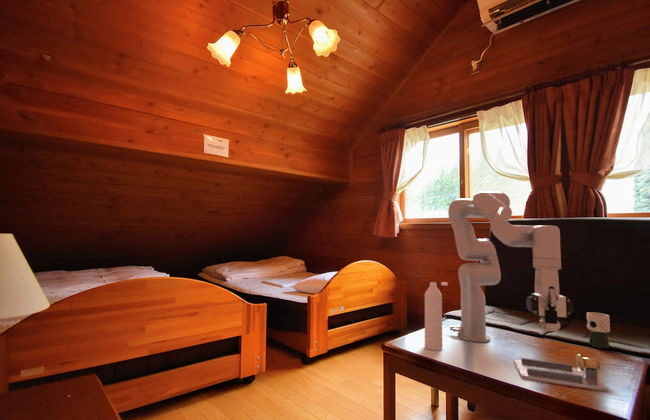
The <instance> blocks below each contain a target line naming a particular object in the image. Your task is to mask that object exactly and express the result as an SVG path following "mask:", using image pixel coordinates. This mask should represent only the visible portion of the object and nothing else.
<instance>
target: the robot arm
mask: <svg viewBox="0 0 650 420" xmlns="http://www.w3.org/2000/svg"><path fill="white" fill-rule="evenodd" d="M510 206H511V200H510V198H509V196H508V195H507V193H504V192H500V191H485V190H483V191H479V192H477V193H475V194H474V195H473V197H472V198H458V199H457V198H456V199H455V200H454V199H453V201H451V203H450V204H449V206H448V212H447V215H448V220H449V222H450V225H451V227H452V229H453V234H454V239H455V240H454V241H455V245H456V251H457V254H458V256H459V258H460V259H461V260H464V261H480V262H466V263H463V264H462V265H460V266H459V268H458V271H457V275H458V280H459V287H460V310H461V311H460V312H461V313H460V314H461V315H460V325H457V326H456V325H450V326H449V330H450V331H452V332H457V337H458V338H459V339H461V340H464V341H467V342H473V343H487V342H490V340H491V337H490V336H489V335H488V334H487V329H486V328H487V327H486V324H487V323H486V322H487V321H486V318H487V315H486V296H485V293H484V291H483V289H482V286H495V285H497V284H499V283H500V281H501V279H502V274H501V267H500V263H499V257H498V254H497V250H496V247H495V245H494V244H493V242H492V241H490V240H489V239H486V238H477V236H476V233H475V229H474V227H473V225H472V224H471V222H470V221H469V220H468V219H469V218H471V219H472V218H473V219H487V220H488V221H489V224H490V226H489V227H490V230H491V232H492V234H493V235H494V237H496V238H497V239H498V240H499V241H500V242H501V243H502V244H504V245H505V246H507V247H513V248H532V268H534V269H535V271H534V273H535V274H534V293H535V294H538V295H539V296H540V299H541V300H544V299H545V306H546V310H545V316H539V317H540V319H541V318H545V322H546V323H550V324H557V321H558V317H557V304H556V303H557V301H558V300H559V295H560V282H559V281H560V279H559V270H562V260H561V259H562V257H561V254H562V253H561V232H560V228H559V227H558V226H557V225H549V224H547V225H526V224H524V225H523V224H511V223H510V222H509V221H510V219H511V217H512V215H513V210H512V208H511V207H510ZM467 218H468V219H467ZM556 297H557V299H556ZM547 298H550V300H547ZM548 302H549V303H548Z"/></svg>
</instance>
